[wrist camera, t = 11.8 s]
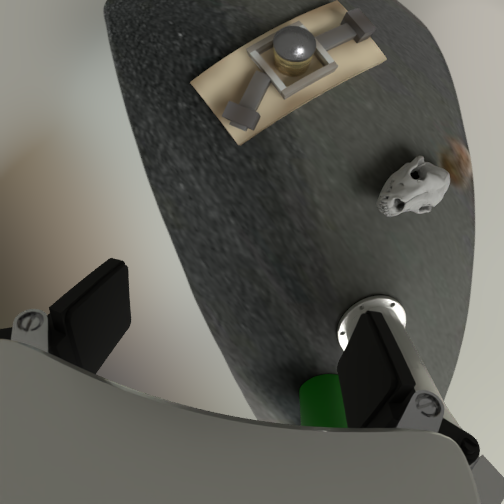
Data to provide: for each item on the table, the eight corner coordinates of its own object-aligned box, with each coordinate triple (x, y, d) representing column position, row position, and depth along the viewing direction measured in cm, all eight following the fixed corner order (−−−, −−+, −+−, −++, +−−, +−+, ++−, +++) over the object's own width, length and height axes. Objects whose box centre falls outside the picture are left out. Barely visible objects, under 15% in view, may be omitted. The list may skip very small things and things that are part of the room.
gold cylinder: (316, 66, 27) (325, 48, 21) (288, 82, 29) (291, 67, 22) (294, 42, 26) (298, 19, 20) (267, 58, 28) (264, 38, 21)
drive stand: (382, 62, 27) (398, 50, 22) (240, 145, 34) (233, 144, 29) (334, 6, 25) (342, -13, 19) (194, 85, 31) (179, 75, 26)
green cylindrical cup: (339, 402, 50) (350, 480, 32) (298, 405, 52) (299, 485, 33) (345, 372, 47) (362, 460, 28) (299, 375, 48) (302, 466, 29)
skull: (455, 200, 31) (438, 240, 25) (405, 199, 38) (376, 235, 33) (447, 148, 28) (429, 173, 22) (394, 152, 35) (361, 177, 30)
